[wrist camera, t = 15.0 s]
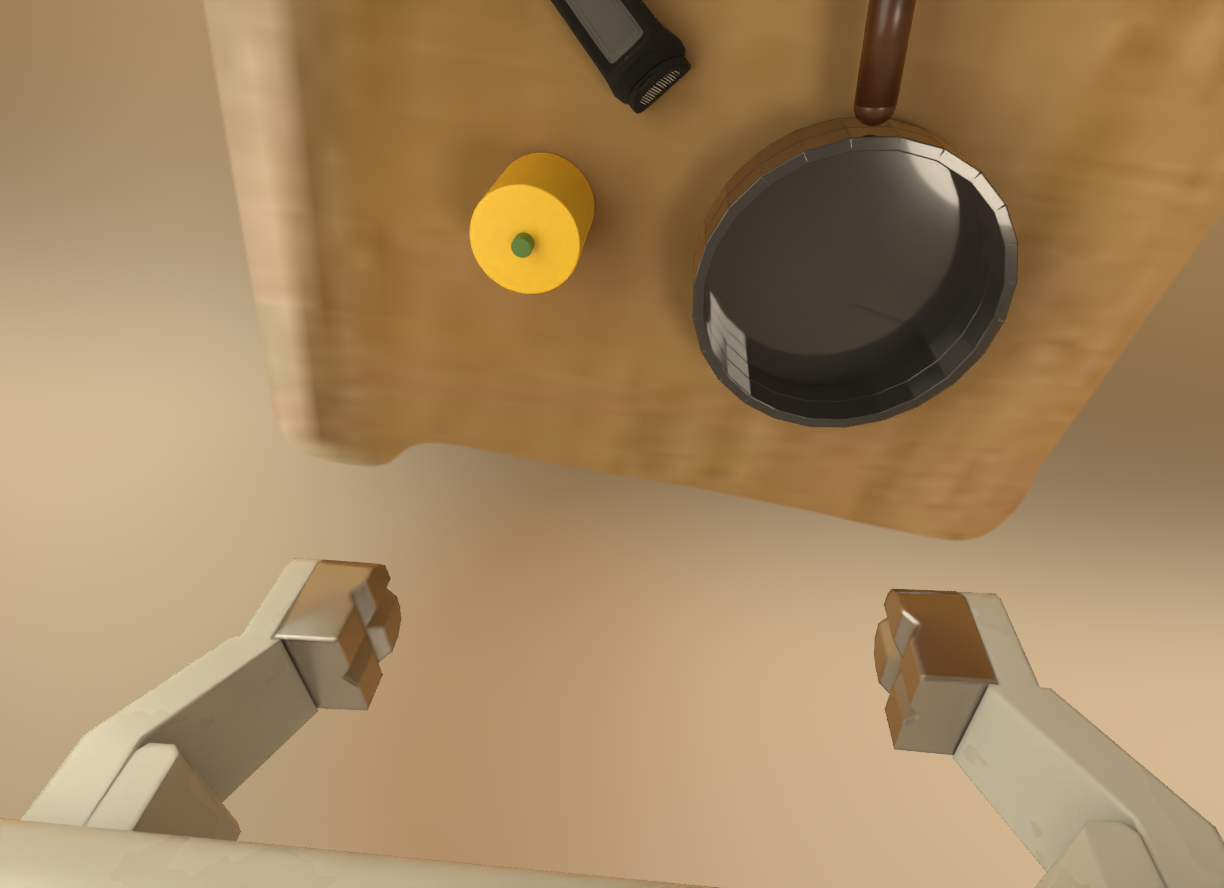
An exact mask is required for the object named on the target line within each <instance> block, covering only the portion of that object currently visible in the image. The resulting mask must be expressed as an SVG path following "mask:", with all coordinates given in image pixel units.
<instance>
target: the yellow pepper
mask: <svg viewBox="0 0 1224 888" xmlns="http://www.w3.org/2000/svg"><path fill="white" fill-rule="evenodd" d="M593 217H594V197H593V194H592V190H591V188H590V185H589V183H588V181H587V179H586V178H585V176H584V175H583V174H582V172H581V171H580V170H579V169H578V168H577V167H576V166H575V165H573V164H572V163H571V162H569V161H568V160H566V159H564V158H562V157H560V156H557V155H554V154H549V153H532V154H528V155H525V156H522V157H520V158H518V159H517V160H515V161H514V162H513V163H511V164H510V165H509V166H508V167H507V168H506V170H505V171H504V172H503V173H502V175H501V176H500V177H499V178H498V180H497V181H496V182H495V183H494V185H493V186H492V187H491V188H490V190H489V191H488V192H487V194H486V195H485V196H484V197H483V199H482V200H481V201H480V202H479V204H478V205H477V207H476V209H475V211H474V213H473V215H472V219H471V223H470V243H471V247H472V250H473V253H474V256H475V258H476V260H477V262H478V263H479V265H480V266H481V268H482V269H483V270H484V272H485V273H486V274H487V275H488V276H489V277H490V278H491V279H492V280H494V281H495V282H497V283H498V284H500V285H501V286H503V287H505V288H507V289H509V290H512V291H515V292H519V293H526V294H536V293H543V292H547V291H550V290H552V289H554V288H556V287H558V286H559V285H561V284H562V283H564V282H565V281H566V280H567V279H568V278H569V276H570V275H571V274H572V272H573V271H574V269H575V267H576V265H577V263H578V260H579V257H580V255H581V252H582V249H583V246H584V244H585V241H586V238H587V235H588V233H589V230H590V227H591V224H592V221H593Z"/></svg>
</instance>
